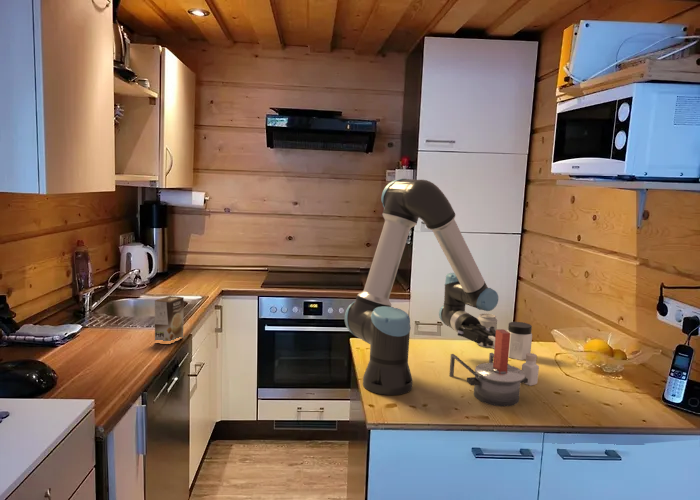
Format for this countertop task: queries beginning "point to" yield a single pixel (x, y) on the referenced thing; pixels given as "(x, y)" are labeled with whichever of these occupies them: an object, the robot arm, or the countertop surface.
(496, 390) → the cooker
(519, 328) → the jar
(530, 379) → the salt shaker
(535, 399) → the countertop surface
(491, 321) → the can
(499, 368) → the lid
